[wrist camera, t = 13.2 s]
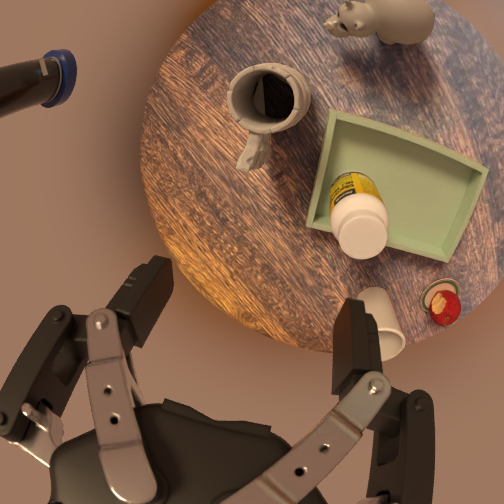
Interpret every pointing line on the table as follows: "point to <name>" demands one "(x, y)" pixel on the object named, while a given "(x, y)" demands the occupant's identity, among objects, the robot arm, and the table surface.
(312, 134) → the table surface
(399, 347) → the dixie cup
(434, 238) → the tray
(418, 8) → the toy rhinoceros
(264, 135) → the mug
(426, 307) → the apple
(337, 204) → the pill bottle
